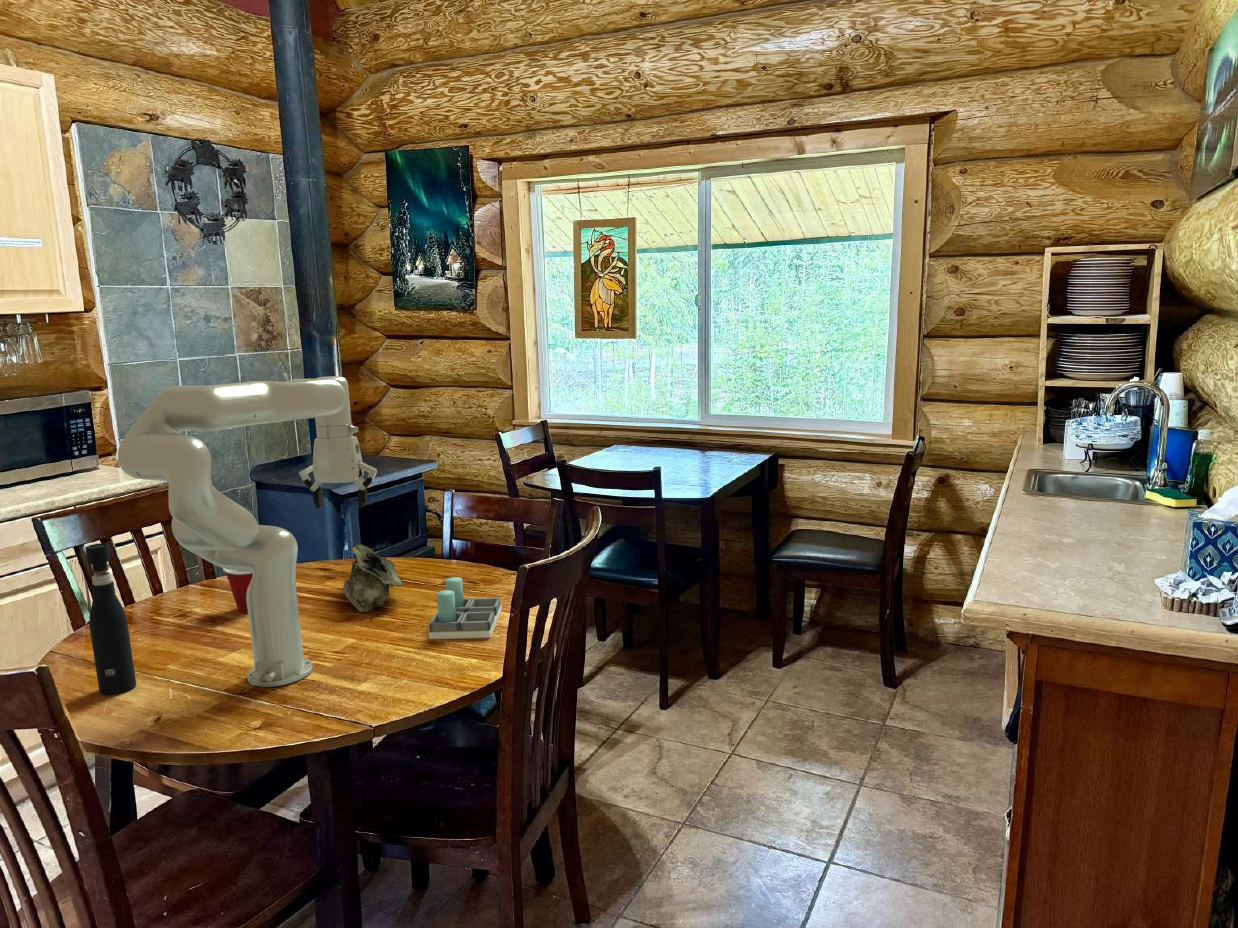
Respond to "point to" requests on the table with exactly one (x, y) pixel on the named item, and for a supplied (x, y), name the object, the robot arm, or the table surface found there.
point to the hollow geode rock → (370, 579)
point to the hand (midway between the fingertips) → (341, 506)
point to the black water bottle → (109, 628)
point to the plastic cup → (239, 587)
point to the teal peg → (456, 590)
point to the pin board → (464, 617)
